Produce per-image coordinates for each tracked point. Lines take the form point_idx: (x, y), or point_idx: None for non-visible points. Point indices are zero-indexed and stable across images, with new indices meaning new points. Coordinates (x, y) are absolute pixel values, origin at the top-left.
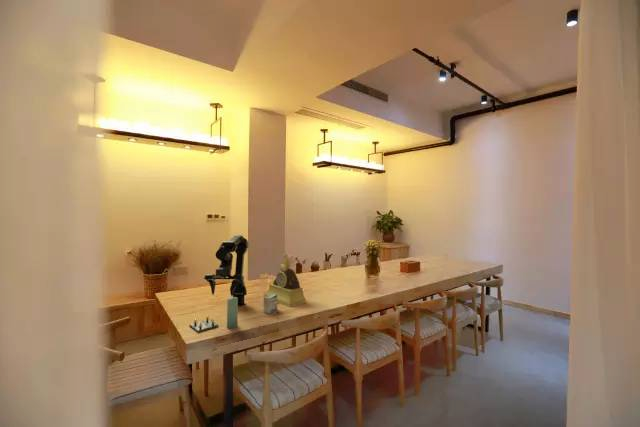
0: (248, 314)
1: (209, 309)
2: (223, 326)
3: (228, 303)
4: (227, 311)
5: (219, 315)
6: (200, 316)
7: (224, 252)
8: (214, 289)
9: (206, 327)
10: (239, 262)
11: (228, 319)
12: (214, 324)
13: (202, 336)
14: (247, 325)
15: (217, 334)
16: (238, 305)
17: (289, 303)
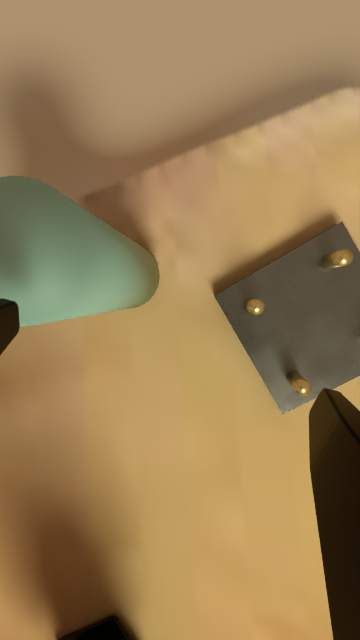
0: (35, 456)
1: (298, 628)
2: (181, 292)
3: (87, 212)
4: (128, 247)
5: (220, 491)
6: None
7: None
8: (327, 518)
9: (289, 263)
10: None
11: (135, 243)
12: (240, 304)
13: (301, 159)
14: None
15: (210, 171)
16: (100, 630)
17: None
